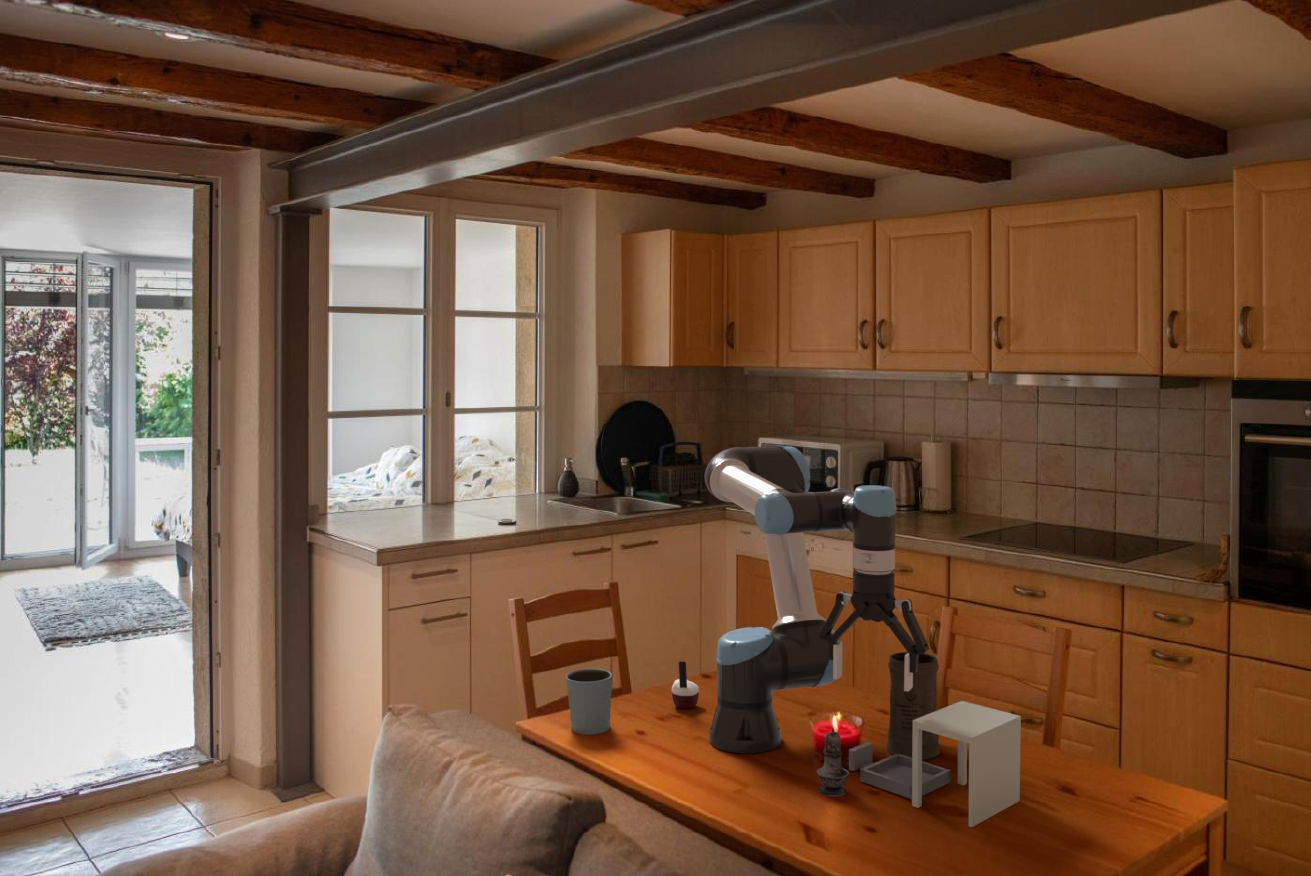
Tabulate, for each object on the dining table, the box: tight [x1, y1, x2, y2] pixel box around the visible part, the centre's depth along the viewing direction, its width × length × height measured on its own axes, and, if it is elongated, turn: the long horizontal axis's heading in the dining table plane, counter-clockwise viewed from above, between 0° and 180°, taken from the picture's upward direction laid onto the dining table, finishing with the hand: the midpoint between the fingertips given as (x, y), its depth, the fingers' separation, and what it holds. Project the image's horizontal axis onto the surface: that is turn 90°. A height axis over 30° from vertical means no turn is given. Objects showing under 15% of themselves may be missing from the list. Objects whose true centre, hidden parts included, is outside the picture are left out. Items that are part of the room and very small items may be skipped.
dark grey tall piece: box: [816, 727, 850, 797], centre depth 194 cm, size 6×6×12 cm
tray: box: [848, 741, 952, 800], centre depth 199 cm, size 17×12×4 cm
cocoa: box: [671, 660, 700, 710], centre depth 242 cm, size 10×6×12 cm, turn 149°
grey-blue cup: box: [565, 668, 613, 736], centre depth 229 cm, size 10×10×12 cm
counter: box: [911, 700, 1022, 828], centre depth 187 cm, size 12×16×16 cm
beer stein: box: [885, 651, 941, 760], centre depth 215 cm, size 15×11×20 cm
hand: (872, 683), depth 193 cm, fingers open, 13 cm apart
